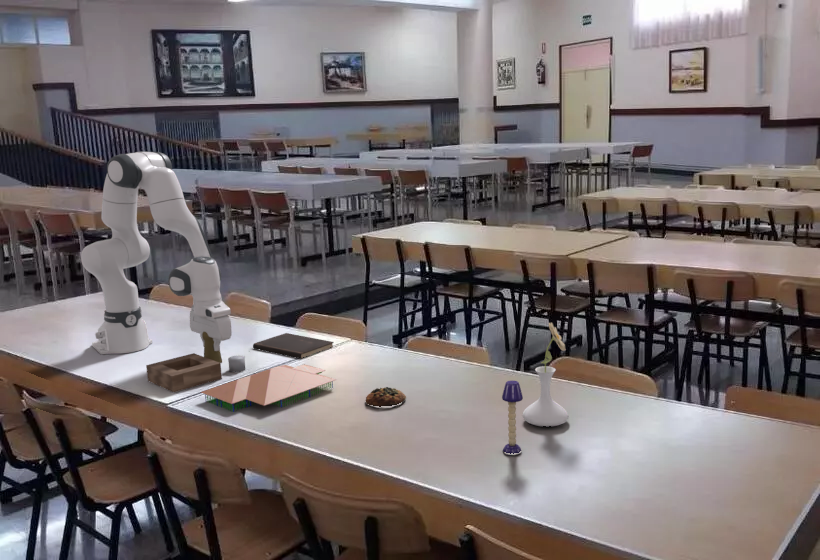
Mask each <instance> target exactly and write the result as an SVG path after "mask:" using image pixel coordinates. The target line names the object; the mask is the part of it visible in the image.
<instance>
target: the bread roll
mask: <svg viewBox="0 0 820 560" xmlns="http://www.w3.org/2000/svg"><path fill="white" fill-rule="evenodd" d="M406 399H407V395H406V394H404V392H403V391H402V390H399V389H397V388H396V387H393V388H392V387H388V386H385V387H380V388H379V387H376V388H374V389H373V390H371V392H370V393H368V394H367V395H366V396H365V401H366V402H365V404H366V403H367V404H369V405H373V406H379V407H381V406H392V405H397V404H399V403H401V402H403V401H404V400H405V401H406ZM403 403H404V402H403ZM367 404H366V405H367ZM369 405H368V406H369Z"/></svg>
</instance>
